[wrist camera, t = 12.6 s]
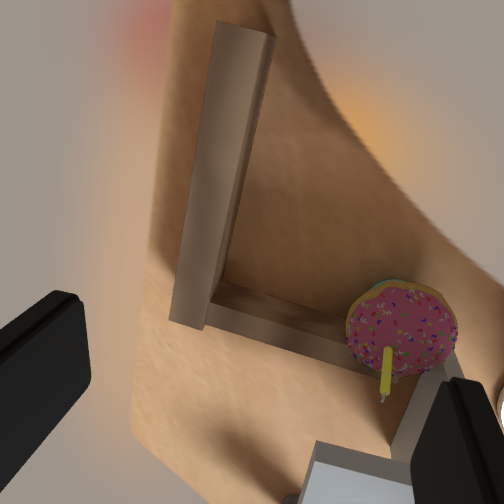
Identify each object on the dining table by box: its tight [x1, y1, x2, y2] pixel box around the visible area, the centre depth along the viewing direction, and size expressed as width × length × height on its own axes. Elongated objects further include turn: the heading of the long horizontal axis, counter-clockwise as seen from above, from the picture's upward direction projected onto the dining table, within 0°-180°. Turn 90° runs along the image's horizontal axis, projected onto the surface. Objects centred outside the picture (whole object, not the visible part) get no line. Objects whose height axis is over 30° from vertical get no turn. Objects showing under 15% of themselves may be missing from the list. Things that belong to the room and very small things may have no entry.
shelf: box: [297, 349, 465, 504], centre depth 34 cm, size 12×15×16 cm
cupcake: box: [346, 279, 458, 403], centre depth 31 cm, size 9×8×12 cm
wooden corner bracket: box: [169, 21, 400, 384], centre depth 32 cm, size 21×24×5 cm
